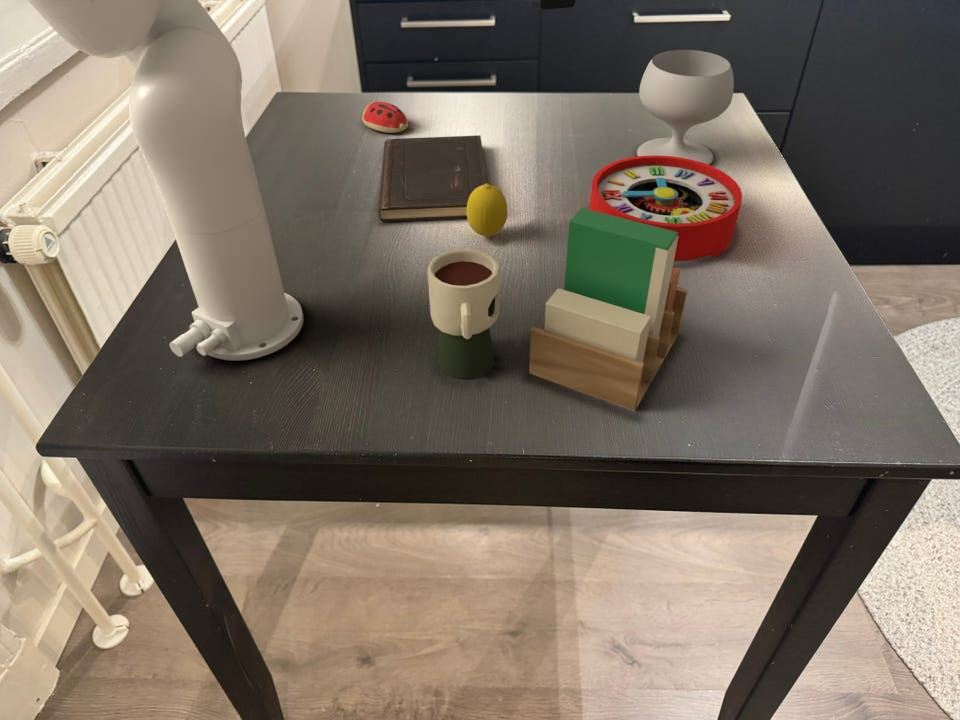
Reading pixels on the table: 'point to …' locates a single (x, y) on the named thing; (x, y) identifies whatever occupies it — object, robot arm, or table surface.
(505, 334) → the table surface
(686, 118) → the chalice
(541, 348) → the book rack
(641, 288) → the green book
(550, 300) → the cream book
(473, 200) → the lemon
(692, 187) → the toy clock
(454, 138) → the hardcover book
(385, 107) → the ladybug figurine
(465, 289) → the character mug
